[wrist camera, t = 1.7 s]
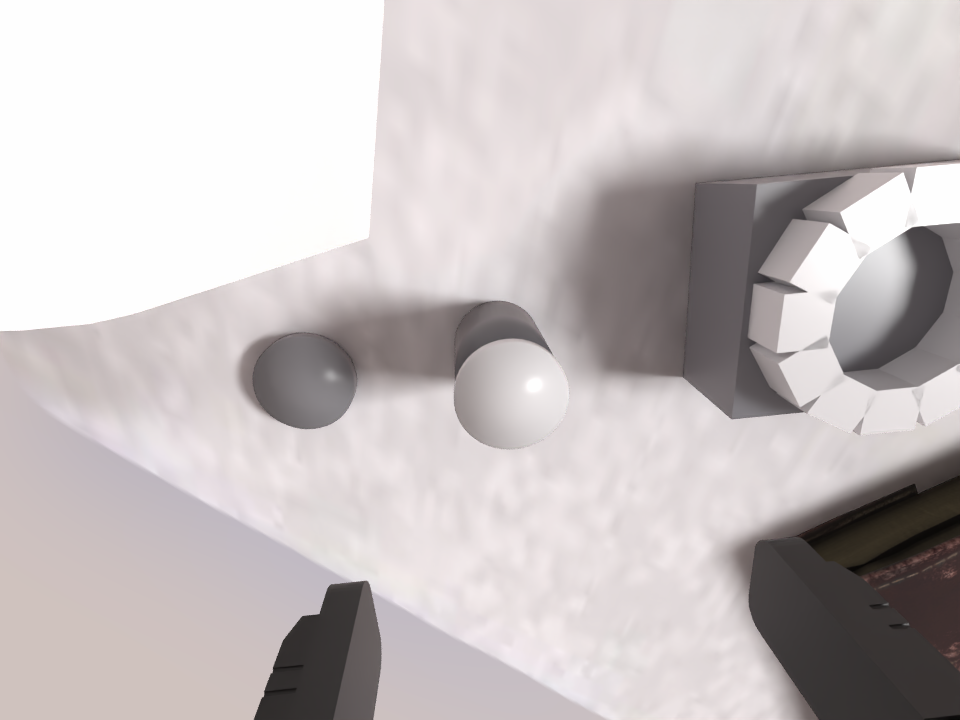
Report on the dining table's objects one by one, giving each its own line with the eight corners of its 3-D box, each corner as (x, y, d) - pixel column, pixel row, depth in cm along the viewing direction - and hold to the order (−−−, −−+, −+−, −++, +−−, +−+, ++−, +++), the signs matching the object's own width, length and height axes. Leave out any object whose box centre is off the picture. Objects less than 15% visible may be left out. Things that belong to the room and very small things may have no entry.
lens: (449, 304, 25) (447, 349, 18) (537, 295, 25) (568, 337, 18) (458, 386, 26) (459, 454, 20) (541, 378, 26) (570, 443, 20)
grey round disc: (251, 336, 25) (241, 343, 24) (348, 326, 25) (344, 333, 24) (273, 422, 27) (265, 433, 26) (365, 413, 27) (361, 423, 26)
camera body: (696, 178, 23) (829, 178, 15) (984, 153, 24) (1271, 138, 15) (682, 380, 27) (784, 469, 19) (933, 356, 27) (1142, 433, 19)
